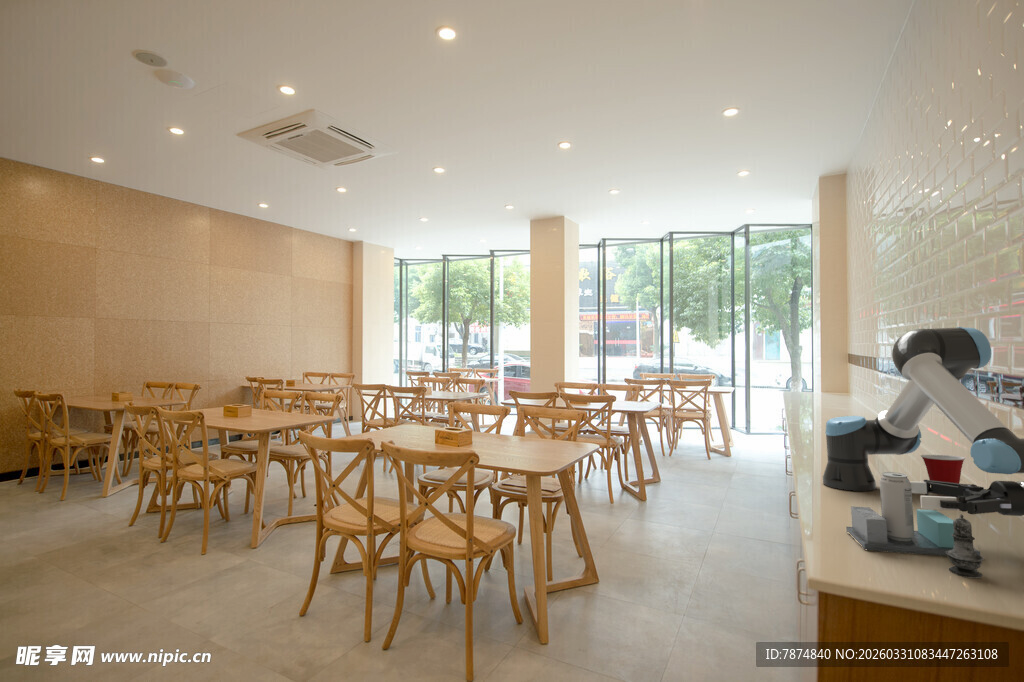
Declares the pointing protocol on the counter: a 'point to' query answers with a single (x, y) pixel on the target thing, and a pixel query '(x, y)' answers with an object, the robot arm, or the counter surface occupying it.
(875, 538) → the grey base stand
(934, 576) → the counter surface
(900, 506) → the energy drink can
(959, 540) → the salt shaker
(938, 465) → the plastic cup
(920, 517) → the sliding jaw
